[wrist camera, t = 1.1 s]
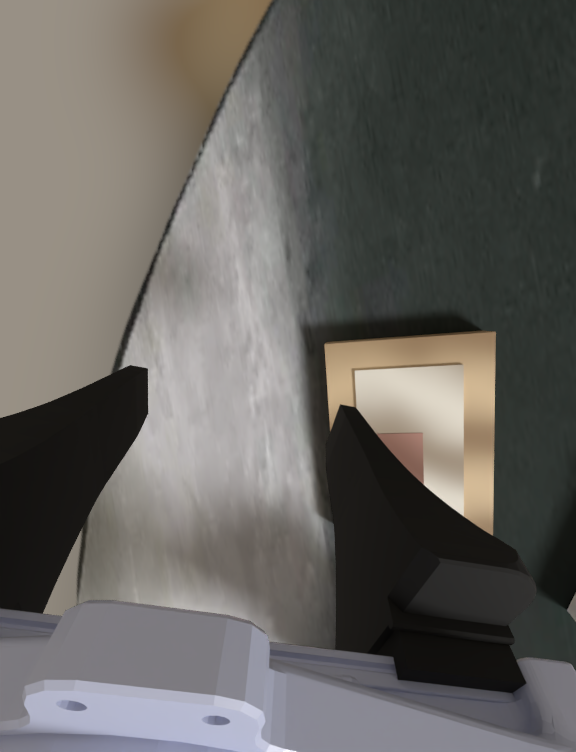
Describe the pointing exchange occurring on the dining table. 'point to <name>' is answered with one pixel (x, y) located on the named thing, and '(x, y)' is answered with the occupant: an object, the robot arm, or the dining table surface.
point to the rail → (572, 607)
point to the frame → (427, 408)
